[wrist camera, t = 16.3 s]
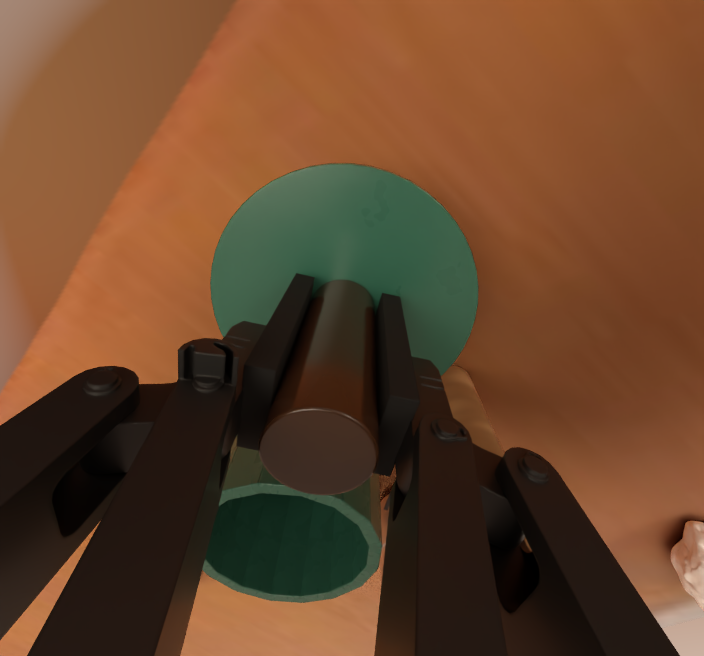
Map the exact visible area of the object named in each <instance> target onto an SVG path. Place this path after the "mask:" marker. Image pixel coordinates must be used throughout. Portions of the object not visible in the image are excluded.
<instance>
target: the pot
mask: <svg viewBox="0 0 704 656" xmlns="http://www.w3.org/2000/svg"><path fill="white" fill-rule="evenodd" d="M236 443H237V436H236V438H235V441H234V443H233V445H232V447H231V456H230V463H229V467H228V471H227V475H226V479H225V483H224V486H223V490H222V494H221V498H220V502H219V506H218V510H217V514H216V518H215V522H214V526H213V529H212V533H211V537H210V541H209V545H208V549H207V553H206V557H205V561H204V565H203V568H202V570H203V571H204V572H205V573H206V574H207V575H209V576H210V577H212V578H213V579H215V580H217V581H219V582H221V583H222V584H224V585H226V586H228V587H229V588H231V589H233V590H235V591H237V592H241V593H245V594H248V595H252V596H255V597H259V598H262V599H266V600H271V601H285V602H299V603H302V602H303V603H305V602H312V601H319V600H326V599H333V598H336V597H338V596H340V595H343V594H345V593H347V592H350V591H352V590H354V589H356V588H359V587H360V586H362V585H363V584H364V583H365V582H366V581H367V580H368V579H369V578H370V577H371V576H372V575H373V574H374V573H375V572H376V571H377V569H378V567H379V562H380V556H381V551H382V527H381V504H380V481H379V474H375V473H373V474H372V476H371V477H370V478H369V479H368V480H367V481H366V482H365V483H363V484H362V485H360V486H359V487H357V488H355V489H353V490H351V491H348V492H345V493H340V494H334V495H314V494H308V493H303V492H300V491H297V490H294V489H292V488H289V487H287V486H285V485H284V484H282V483H280V482H279V481H277V480H276V479H275V478H274V477H273V476H272V475H271V474H270V473H269V472H268V471H267V470H266V468H265V467H264V465H263V463H262V461H261V458H260V455H259V451H257V450H252V449H247V448H242V447H237V446H236Z"/></svg>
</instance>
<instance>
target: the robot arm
mask: <svg viewBox="0 0 704 656" xmlns="http://www.w3.org/2000/svg"><path fill="white" fill-rule="evenodd" d="M314 279H315V277H311V276H307V275H302V274H298V273H296V274H295V276H294V278H293V280H292V281H291V283H290V285H289V287H288V288H287V290H286V292H285V294H284V295H283V297H282V299H281V301H280V302H279V304H278V306H277V308H276V309H275V311H274V313H273V315H272V316H271V318H270V320H269V322H268V323H267V325H262V324H257V323H252V322H248V321H242V322H240V323H238V324H236V325H234V326H232V327H231V328H230V330H229V331H228V332H227V334H226V336H225V337H224V338H223V339H222V340H219V339H210V338H203V339H197V340H193V341H190V342H188V343H185V344H184V345H183V346H182V347H180V348H179V349H178V381H177V382H174V383H167V384H139V378H138V376H137V375H136V374H135V372H133V371H131V370H129V369H127V368H124V367H117V366H105V367H97V368H93V369H89V370H86V371H84V372H82V373H80V374H78V375H76V376H74V377H72V378H71V379H69V380H68V381H66V382H65V383H63V384H62V385H60V386H59V387H57V388H56V389H54V390H53V391H51V392H50V393H48V394H47V395H45V396H44V397H42V398H41V399H39V400H38V401H36V402H35V403H33V404H32V405H30V406H29V407H27V408H26V409H24V410H23V411H21V412H20V413H18V414H17V415H16V416H14V417H13V418H11V419H10V420H8V421H7V422H5V423H4V424H2V425H1V426H0V640H1V639H2V637H3V636H4V635H5V634H6V633H7V632H8V630H9V629H10V628H11V627H12V626H13V624H14V623H15V622H16V621H17V620H18V618H19V617H20V616H21V615H22V614H23V612H24V611H25V610H26V609H27V608H28V606H29V605H30V604H31V603H32V602H33V600H34V599H35V598H36V597H37V596H38V595H39V593H40V592H41V591H42V590H43V589H44V587H45V586H46V585H47V584H48V583H49V581H50V580H51V579H52V578H53V577H54V575H55V574H56V573H57V572H58V571H59V569H60V568H61V567H62V566H63V565H64V563H65V562H66V561H67V560H68V559H69V558H70V556H71V555H72V554H73V553H74V552H75V550H76V549H77V548H78V547H79V546H80V544H81V543H82V542H83V541H84V540H85V538H86V537H87V536H88V535H89V534H90V532H91V531H92V530H93V529H94V528H95V526H96V525H97V524H98V523H99V522H100V523H99V525H98V527H97V529H96V531H95V532H94V534H93V536H92V538H91V540H90V542H89V543H88V545H87V547H86V549H85V551H84V553H83V554H82V556H81V558H80V560H79V562H78V564H77V565H76V567H75V569H74V571H73V573H72V574H71V576H70V578H69V580H68V582H67V584H66V585H65V587H64V589H63V591H62V593H61V595H60V596H59V598H58V600H57V602H56V604H55V606H54V607H53V609H52V611H51V613H50V615H49V617H48V618H47V620H46V622H45V624H44V626H43V628H42V629H41V631H40V633H39V635H38V637H37V638H36V640H35V642H34V644H33V646H32V648H31V649H30V651H29V653H28V655H27V656H180V654H181V650H182V647H183V643H184V639H185V635H186V631H187V627H188V623H189V619H190V615H191V611H192V608H193V604H194V600H195V596H196V592H197V588H198V584H199V580H200V576H201V572H202V568H203V565H204V561H205V557H206V553H207V549H208V545H209V541H210V537H211V533H212V529H213V526H214V522H215V518H216V514H217V510H218V506H219V502H220V498H221V494H222V490H223V486H224V483H225V479H226V475H227V471H228V467H229V463H230V456H231V447H232V445H233V443H234V441H235V438H236V436H237V443H236V446H237V447H242V448H247V449H252V450H257V451H259V449H258V442H259V437H260V434H261V432H262V429H263V426H264V424H265V421H266V418H267V416H268V413H269V410H270V408H271V405H272V403H273V400H274V397H275V395H276V392H277V389H278V387H279V384H280V381H281V379H282V376H283V373H284V371H285V368H286V365H287V363H288V360H289V357H290V355H291V352H292V350H293V347H294V344H295V342H296V339H297V336H298V334H299V331H300V328H301V326H302V323H303V320H304V318H305V315H306V312H307V310H308V307H309V304H310V301H311V296H312V290H313V285H314ZM375 318H376V352H377V385H378V419H379V461H378V465H377V467H376V469H375V471H374V473H375V474H380V475H385V476H390V475H391V473H392V470H393V468H394V465H395V464H396V480H395V482H394V484H393V487H392V489H391V492H390V494H389V496H388V499H387V501H386V504H385V506H384V510H388V508H389V516H388V526H387V536H386V546H385V556H384V566H383V576H382V585H381V595H380V605H379V615H378V625H377V635H376V645H375V655H374V656H680V655H679V654H678V652H677V651H676V649H675V648H674V646H673V645H672V643H671V642H670V640H669V639H668V637H667V636H666V634H665V633H664V631H663V630H662V628H661V627H660V625H659V624H658V622H657V621H656V619H655V618H654V616H653V615H652V613H651V612H650V610H649V609H648V607H647V606H646V604H645V603H644V601H643V600H642V598H641V597H640V595H639V594H638V592H637V591H636V589H635V588H634V586H633V585H632V583H631V582H630V580H629V579H628V577H627V576H626V574H625V573H624V571H623V570H622V568H621V567H620V565H619V564H618V562H617V560H616V559H615V557H614V556H613V554H612V553H611V551H610V550H609V548H608V547H607V545H606V544H605V542H604V541H603V539H602V538H601V536H600V535H599V533H598V532H597V530H596V529H595V527H594V526H593V524H592V523H591V521H590V520H589V518H588V517H587V515H586V514H585V512H584V511H583V509H582V508H581V506H580V505H579V503H578V502H577V500H576V499H575V497H574V496H573V494H572V493H571V491H570V490H569V488H568V487H567V485H566V484H565V482H564V481H563V479H562V478H561V476H560V475H559V473H558V472H557V471H556V470H555V469H554V467H553V466H552V465H551V464H550V463H549V462H548V461H546V460H545V459H544V458H543V457H541V456H540V455H538V454H536V453H534V452H532V451H530V450H527V449H524V448H520V447H517V448H510V449H509V450H507V451H506V452H505V454H504V455H503V457H501V456H499V455H496V454H494V453H492V452H490V451H488V450H485V449H483V448H481V447H479V446H477V445H475V444H474V443H472V439H471V436H470V434H469V431H468V430H467V429H466V428H465V427H464V425H463V424H462V423H460V422H459V421H457V420H456V419H455V418H453V415H452V412H451V408H450V405H449V402H448V399H447V395H446V392H445V391H444V385H443V382H442V379H441V375H440V372H439V370H438V369H437V367H436V366H435V365H434V364H433V363H432V361H431V360H427V359H422V358H418V357H413V356H411V351H410V345H409V340H408V335H407V330H406V325H405V319H404V314H403V309H402V304H401V299H400V297H399V296H394V295H390V294H386V293H382V295H381V298H380V302H379V305H378V309H377V312H376V316H375ZM101 519H102V520H101ZM524 538H526V540H527V542H528V544H529V546H530V548H531V550H532V551H530V550H529V548H528V546H527V545H526V543H525V540H524Z"/></svg>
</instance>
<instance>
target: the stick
mask: <svg viewBox="0 0 704 656" xmlns="http://www.w3.org/2000/svg"><path fill="white" fill-rule="evenodd" d="M441 379H442V382H443V385H444V391H445V392H446V395H447V399H448V402H449V405H450V408H451V412H452V415H453V418H455V419H456V420H457V421H459V422H460V423H462V424H463V425H464V427H465V428H466V429H467V430H468V431H469V434H470V436H471V439H472V443H474V444H475V445H477V446H479V447H481V448H483V449H485V450H488V451H490V452H492V453H494V454H496V455H499V456H501V457H503V455H504V454H505V453H504V451H503V449H502V447H501V444H500V442H499V440H498V438H497V436H496V433H495V431H494V429H493V427H492V424H491V422H490V420H489V418H488V416H487V413H486V411H485V409H484V407H483V405H482V402H481V400H480V398H479V396H478V394H477V391H476V389H475V387H474V385H473V382H472V380H471V378H470V376H469V374H468V373H467V372H466V371H465V370H464V369H462V368H460V367H457V366H450V367H449V369H448V370H447V371H446V372H445V373H444V374H443V375H442V376H441ZM524 540H525V543H526V545H527V546H528V548H529V550H530V551H532V550H531V548H530V546H529V544H528V542H527V540H526V538H524Z"/></svg>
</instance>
